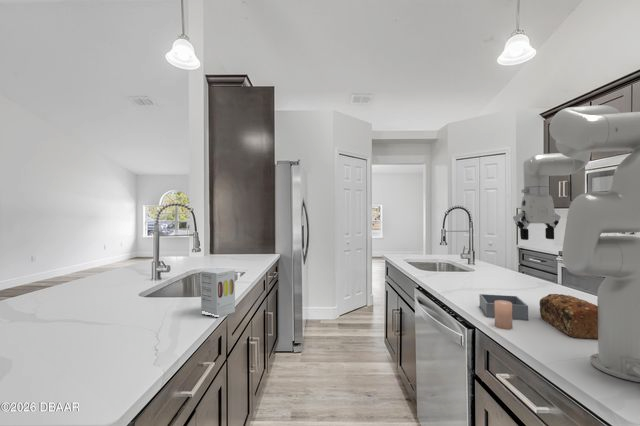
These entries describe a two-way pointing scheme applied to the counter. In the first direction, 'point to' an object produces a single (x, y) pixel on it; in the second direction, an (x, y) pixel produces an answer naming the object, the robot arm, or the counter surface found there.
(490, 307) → the bin
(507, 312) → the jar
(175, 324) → the counter surface
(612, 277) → the robot arm
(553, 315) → the bread
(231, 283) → the supplement box
